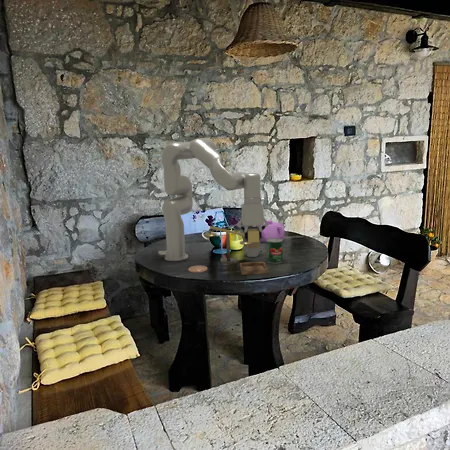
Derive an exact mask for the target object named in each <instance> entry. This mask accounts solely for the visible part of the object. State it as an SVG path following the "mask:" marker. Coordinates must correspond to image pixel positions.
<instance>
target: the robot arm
mask: <svg viewBox="0 0 450 450" xmlns="http://www.w3.org/2000/svg"><path fill="white" fill-rule="evenodd" d="M216 147H217V146H216V144H215V142H214V141H213V140H212V139H211V138H203V137H202V138H195V139H193V140H191V141H175V142H170V143H168V144H167V145H166V146H164V148H163V149H162V153H161V160H162V161H161V162H162V167H163V184H164V185H163V186H164V187H163V189H164V191H165V193H166V195H168V196H170V197H171V198H168V199H167V200H165V201H164V202H163V204H162V206H161V208H162V213H163V218H164V225H165V239H166V241H165V242H166V243H165V244H166V249H165V250H158V255H160V256H164V261H168V262H181V261H184V260H185V261H186V260H187V259H188V258H189V254H188V253H186V240H185V238H186V237H185V225H184V224H185V223H184V221H183V218H182V215H183V216H184V215H186V214H189V213H190V212H191V211H192V209H193V204H194V203H193V184H192V183H193V182H192V181H191V179H190V178H189V177H188V176H187V175H182V174H181V173H182V172H181V165H180V163H179V160H191V159H197V160H199V161H200V163H202V164H203V165H204V166H206V168H208V169H209V173H210V174H211V177H212V178H213V180H214V181H215V182H217V184H218V185H220V186H221V187H222V188H223V189H225V190H227V191H235V190H241V189H243V203H242V204H241V218H240V220H238V222H237V223H236V226H237V227H238V228H239V229H241V230H242V232H243V231H244V232H245V236H244V237H245V239H246V241H248V232H247V229H248V226H258V228H259V241H260V238H262V231H263V230H264V229H265V227H267V226H268V225H269V223H268V222H267V221H268V220H267V219H266V218H265V212H264V207H263V203H262V202H263V201H265V198H264V197H262V195H261V194H262V193H261V190H262V189H261V188H262V186H261V175H260V173H257V172H248V173H247V172H241V171H239V172H232V173H231V172H229V170H227V169H226V168H225V167H224V166H223V165H222V162H223V156H222V154H221V153H220V152H218V151H217V150H216ZM172 196H176V197H172ZM264 222H265V224H264ZM263 224H264V225H263ZM261 225H263V226H262V227H261ZM244 232H243V233H244Z"/></svg>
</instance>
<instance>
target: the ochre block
mask: <svg viewBox="0 0 450 450" xmlns="http://www.w3.org/2000/svg"><path fill="white" fill-rule="evenodd" d="M247 232H248V242H259V230H258V229H247Z"/></svg>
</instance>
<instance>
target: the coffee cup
mask: <svg viewBox="0 0 450 450" xmlns="http://www.w3.org/2000/svg"><path fill="white" fill-rule="evenodd" d="M248 229H258V230H259V228H258V227H257V226H248ZM242 233H243V234H245V232H244V231H243V230H242ZM260 243H261V242H260V241H259V242H252V243H251V244H248V245H245V248H246V249H245V250H246V257H249V258H257V257H259V251H260V245H261V244H260Z"/></svg>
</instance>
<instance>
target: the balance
mask: <svg viewBox="0 0 450 450" xmlns="http://www.w3.org/2000/svg"><path fill="white" fill-rule="evenodd" d="M209 230H215V231H218V232H219V231H220V232H223V233H225V234H226V235H225V236H226V237H225V238H226V243H225V244H226V257H220V264H221V265H225V264H237V263H238V259H237V257H231V246H230V245H231V244H230V243H231V241H230V239H231V237H230V234H234V235H237V236H242V240H241V241H239V245H243V246H246V245H248V244H251V243H252V242H248V241H246V239H245V234H244V232H238V231H234V230H229V229H226V228H225V229H224V228H220V227H217V226H211V225H209ZM203 236H204V237H206V238H212V237H216V236H217V233H215V232H211V231H209V232H207V233H204V235H203Z"/></svg>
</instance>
